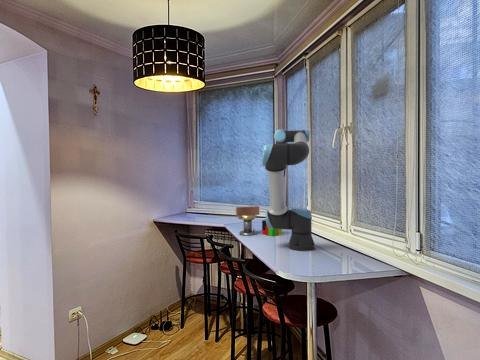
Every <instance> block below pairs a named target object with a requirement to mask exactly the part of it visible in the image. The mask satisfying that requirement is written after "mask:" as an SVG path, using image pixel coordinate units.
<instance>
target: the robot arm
mask: <svg viewBox="0 0 480 360" xmlns="http://www.w3.org/2000/svg"><path fill="white" fill-rule="evenodd" d="M273 136H274V141H275V143H273V142H272V143H267V144H265V145H264V146H263V149H262V157H261V159H262V160H261V166H263V167H264V169H265V171H267V173H268V191H269V206H268V207H267V209H266V210H265V213H264V214H265V220H266V224H267V227H268V228H269V229H282V230H291V234H290V238H289V241H288V248H289V249H291V250H295V251H312V250H314V249H315V248H316V246H315V240H314V239H313V236H312V235H313V234H312V233H313V231H312V230H313V229H312V228H313V227H312V219H313V217H312V210H310V209H307V208H303V207H302V208H301V207H291V209H288V206H287V205H286V201H285V200H286V199H285V198H286V196H285V177H286V170H287V167H288V166H296V165H299V164H302V163H303V162H304V161H305V160H306V159H307V158H308V156H309V154H310V146H309V144H308V143H309V141H310V130H308V129H307V130H306V129H297V130H287V129H284V128H283V129H282V128H281V129H277V130H275V132H274V135H273Z"/></svg>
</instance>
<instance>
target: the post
mask: <svg viewBox="0 0 480 360" xmlns="http://www.w3.org/2000/svg"><path fill="white" fill-rule="evenodd" d="M252 221H253V220H243V229H242V228H239V229H240V231H239V232H238V233H239V236H242V237H243V236H244V237H252V236H256V235H257V232H256V228H255V227H253V222H252Z"/></svg>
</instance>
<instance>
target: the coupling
mask: <svg viewBox="0 0 480 360" xmlns="http://www.w3.org/2000/svg"><path fill="white" fill-rule="evenodd" d="M258 215H259V216H260V206H259V205H253V206H251V205H250V206H235V216H236V217H237V218H238V220H243V221H244V220H252V221H253V220H255V219H257V217H258Z"/></svg>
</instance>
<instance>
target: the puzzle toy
mask: <svg viewBox="0 0 480 360" xmlns="http://www.w3.org/2000/svg"><path fill="white" fill-rule="evenodd" d="M261 234H262V235H263V236H270V237H275V236H276V237H277V236H281V235H283V229H269V228H268V227H267V224H266V219H264V220H261Z"/></svg>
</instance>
